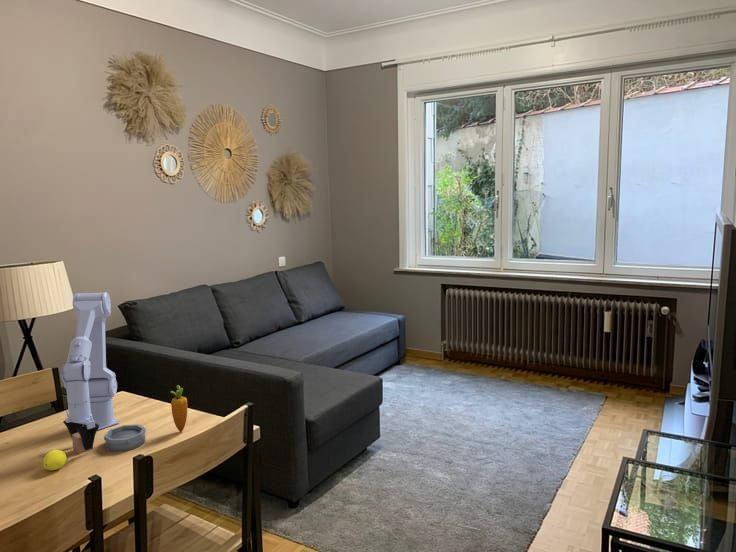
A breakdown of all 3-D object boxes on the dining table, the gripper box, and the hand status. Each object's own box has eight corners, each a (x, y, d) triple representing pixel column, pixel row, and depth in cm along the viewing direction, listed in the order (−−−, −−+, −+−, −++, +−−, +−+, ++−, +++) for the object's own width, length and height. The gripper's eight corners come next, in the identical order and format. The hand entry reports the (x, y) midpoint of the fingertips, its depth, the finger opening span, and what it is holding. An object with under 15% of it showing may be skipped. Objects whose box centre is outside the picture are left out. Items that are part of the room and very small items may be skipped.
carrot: (184, 435, 171) (181, 389, 168) (169, 434, 172) (166, 389, 169) (192, 429, 175) (189, 384, 173) (178, 428, 176) (175, 383, 174)
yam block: (73, 450, 162) (71, 434, 161) (87, 445, 165) (85, 429, 164) (79, 454, 159) (77, 438, 158) (93, 449, 162) (91, 433, 161)
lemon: (54, 465, 154) (53, 446, 154) (72, 465, 153) (71, 446, 153) (36, 474, 147) (36, 454, 147) (55, 475, 146) (55, 455, 146)
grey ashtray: (99, 444, 165) (98, 433, 165) (134, 432, 173) (133, 421, 173) (116, 455, 158) (115, 443, 158) (152, 441, 166) (151, 430, 166)
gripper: (54, 399, 161) (58, 443, 163) (75, 411, 152) (79, 457, 154) (78, 393, 167) (82, 435, 169) (100, 404, 157) (104, 448, 159)
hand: (82, 445), depth 162 cm, fingers open, 7 cm apart
